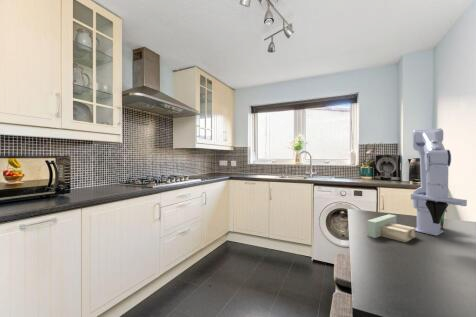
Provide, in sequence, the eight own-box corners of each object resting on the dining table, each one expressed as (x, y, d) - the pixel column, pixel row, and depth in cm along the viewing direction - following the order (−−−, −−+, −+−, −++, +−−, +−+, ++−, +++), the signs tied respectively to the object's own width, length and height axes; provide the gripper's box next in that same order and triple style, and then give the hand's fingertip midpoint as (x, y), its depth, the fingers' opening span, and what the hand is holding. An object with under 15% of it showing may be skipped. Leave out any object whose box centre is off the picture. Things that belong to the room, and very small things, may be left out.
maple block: (391, 232, 93) (391, 222, 93) (415, 238, 86) (415, 227, 86) (381, 236, 87) (381, 226, 87) (405, 243, 81) (405, 232, 81)
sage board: (388, 227, 98) (388, 214, 98) (396, 229, 96) (396, 215, 96) (366, 235, 87) (367, 220, 87) (375, 238, 84) (375, 222, 84)
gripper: (407, 182, 81) (407, 219, 81) (463, 187, 69) (462, 230, 69) (414, 182, 85) (414, 217, 85) (468, 186, 73) (467, 227, 73)
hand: (436, 223), depth 78 cm, fingers closed
